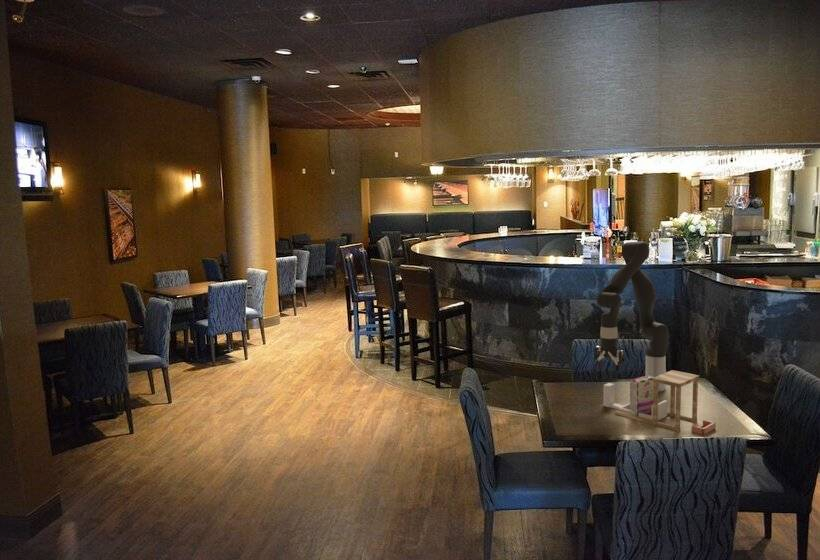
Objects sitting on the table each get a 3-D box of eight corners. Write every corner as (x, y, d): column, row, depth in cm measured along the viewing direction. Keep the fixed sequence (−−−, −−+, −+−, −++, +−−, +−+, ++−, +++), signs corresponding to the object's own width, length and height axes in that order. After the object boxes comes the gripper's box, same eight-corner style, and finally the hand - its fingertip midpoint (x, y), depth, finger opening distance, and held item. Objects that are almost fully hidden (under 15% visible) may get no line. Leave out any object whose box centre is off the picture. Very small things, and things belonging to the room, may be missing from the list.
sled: (612, 401, 315) (613, 381, 314) (667, 416, 295) (667, 393, 293) (599, 407, 308) (599, 386, 307) (653, 422, 288) (653, 400, 286)
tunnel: (634, 405, 310) (635, 362, 307) (697, 422, 287) (699, 375, 284) (614, 414, 299) (614, 369, 296) (678, 432, 277) (679, 384, 274)
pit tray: (703, 426, 282) (703, 419, 281) (715, 429, 278) (715, 422, 278) (691, 433, 276) (691, 425, 275) (703, 436, 272) (703, 429, 271)
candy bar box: (647, 410, 302) (647, 374, 300) (656, 413, 298) (656, 377, 296) (628, 415, 297) (629, 379, 295) (637, 418, 293) (638, 381, 291)
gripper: (627, 336, 303) (627, 371, 305) (600, 332, 314) (600, 366, 316) (618, 340, 298) (618, 375, 301) (590, 335, 309) (590, 369, 311)
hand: (609, 370), depth 308 cm, fingers open, 8 cm apart
